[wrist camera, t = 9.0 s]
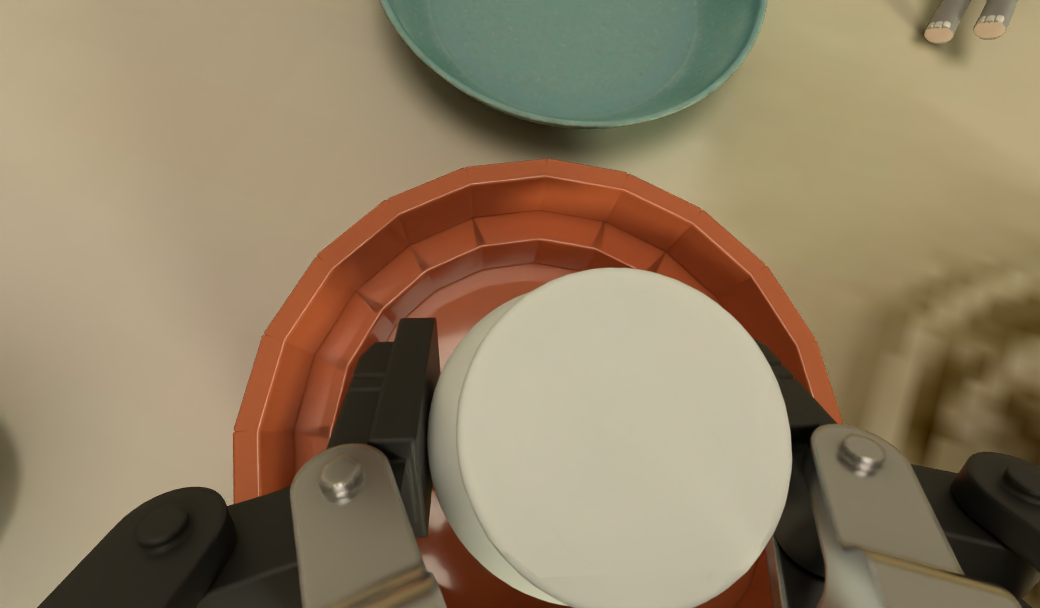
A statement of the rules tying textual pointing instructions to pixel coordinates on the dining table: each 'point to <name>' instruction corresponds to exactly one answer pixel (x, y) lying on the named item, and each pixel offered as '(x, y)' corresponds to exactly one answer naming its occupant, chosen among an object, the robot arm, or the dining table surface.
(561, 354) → the supplement bottle
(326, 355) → the bowl
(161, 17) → the dining table surface
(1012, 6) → the elephant figurine
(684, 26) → the saucer
